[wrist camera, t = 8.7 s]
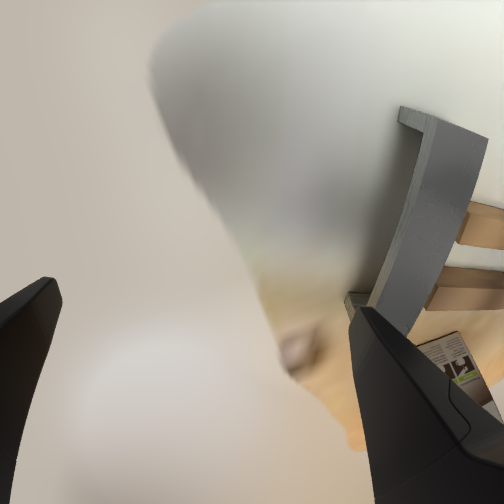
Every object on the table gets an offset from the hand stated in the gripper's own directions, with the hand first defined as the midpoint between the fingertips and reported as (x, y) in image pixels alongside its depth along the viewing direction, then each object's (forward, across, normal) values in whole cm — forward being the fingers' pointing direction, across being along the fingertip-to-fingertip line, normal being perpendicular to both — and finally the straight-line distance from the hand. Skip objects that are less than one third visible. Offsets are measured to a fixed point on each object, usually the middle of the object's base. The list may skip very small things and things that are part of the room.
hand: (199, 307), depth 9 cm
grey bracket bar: (+8, -9, 0) cm, 12 cm away
